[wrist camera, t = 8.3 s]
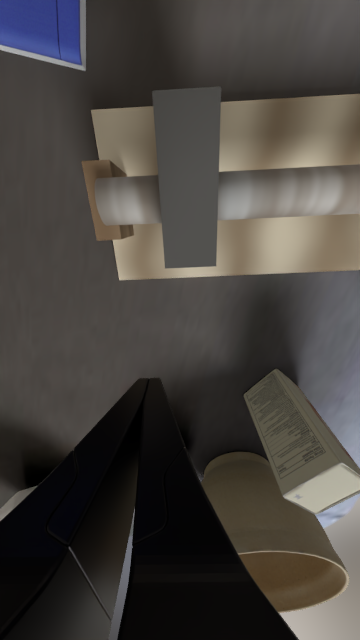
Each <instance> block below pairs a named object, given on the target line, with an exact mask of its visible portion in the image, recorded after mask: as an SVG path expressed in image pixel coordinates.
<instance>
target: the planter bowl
mask: <svg viewBox="0 0 360 640" xmlns="http://www.w3.org/2000/svg"><path fill="white" fill-rule="evenodd" d="M201 484H202V487H203V489H204V491H205V493H206V495H207V497H208V498H209V500H210V502H211V504H212V506H213V508H214V510H215V512H216V514H217V516H218V517H219V519H220V521H221V523H222V525H223V527H224V529H225V531H226V533H227V534H228V536H229V538H230V540H231V542H232V544H233V546H234V548H235V549H236V551H237V553H238V555H239V556H240V558H241V560H242V562H243V563H244V565H245V567H246V568H247V570H248V571H249V573H250V575H251V576H252V578H253V579H254V581H255V582H256V584H257V585H258V586H259V588H260V589H261V590H262V592H263V593H264V594H265V596H266V597H267V598H268V600H269V601H270V602H271V604H272V605H273V606H274V607H275V609H276V610H277V611H278V613H284V612H291V611H297V610H303V609H306V608H309V607H313V606H316V605H319V604H321V603H324V602H327V601H329V600H331V599H333V598H335V597H337V596H338V595H340V594H341V593H342V592H343V591H344V590H345V589H346V588H347V586H348V584H349V575H348V573H347V571H346V569H345V567H344V565H343V563H342V561H341V559H340V558H339V556H338V555H337V554H336V552H335V551H334V549H333V547H332V545H331V543H330V541H329V539H328V537H327V535H326V533H325V531H324V529H323V528H322V526H321V524H320V522H319V521H318V519H317V518H316V516H315V515H314V514H313V513H311V512H309V511H307V510H305V509H303V508H302V507H300V506H298V505H296V504H294V503H293V502H291V501H289V500H287V499H285V498H284V497H283V496H282V493H281V491H280V488H279V485H278V483H277V480H276V478H275V475H274V473H273V470H272V468H271V465H270V463H269V462H268V461H267V460H266V459H265V458H263V457H262V456H260V455H257V454H254V453H250V452H232V453H227V454H224V455H221V456H219V457H217V458H215V459H213V460H212V461H211V462H210V463H209V464H208V465H207V466H206V468H205V471H204V479H203V480H202V482H201Z"/></svg>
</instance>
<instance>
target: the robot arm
mask: <svg viewBox="0 0 360 640" xmlns="http://www.w3.org/2000/svg"><path fill="white" fill-rule="evenodd" d="M134 508H135V515H134V528H133V542H132V546H133V548H132V555H131V566H130V574H129V582H128V588H127V594H126V599H125V604H124V609H123V614H122V619H121V624H120V629H119V634H118V639H117V640H299V639H298V638H297V637H296V635H295V634H294V633H293V631H292V630H291V629H290V627H289V626H288V625H287V623H286V622H285V621H284V619H283V618H282V617H281V615H280V614H279V613H278V611H277V610H276V609H275V607H274V606H273V605H272V604H271V602H270V601H269V600H268V598H267V597H266V596H265V594H264V593H263V592H262V590H261V589H260V588H259V586H258V585H257V584H256V582H255V581H254V579H253V578H252V576H251V575H250V573H249V571H248V570H247V568H246V567H245V565H244V563H243V562H242V560H241V558H240V556H239V555H238V553H237V551H236V549H235V548H234V546H233V544H232V542H231V540H230V538H229V536H228V534H227V533H226V531H225V529H224V527H223V525H222V523H221V521H220V519H219V517H218V516H217V514H216V512H215V510H214V508H213V506H212V504H211V502H210V500H209V498H208V497H207V495H206V493H205V491H204V489H203V487H202V484H201V482H200V480H199V478H198V476H197V474H196V472H195V469H194V467H193V464H192V462H191V459H190V457H189V454H188V451H187V449H186V448H185V444H184V441H183V438H182V436H181V433H180V430H179V428H178V425H177V422H176V420H175V417H174V414H173V411H172V409H171V406H170V403H169V401H168V398H167V395H166V393H165V390H164V387H163V385H162V382H161V379H160V378H150V379H148V378H140V379H138V380H137V381H136V382H135V383H134V384H133V385H132V386H131V387H130V389H129V390H128V391H127V392H126V393H125V394H124V395H123V396H122V397H121V398H120V399H119V400H118V402H117V403H116V404H115V405H114V406H113V407H112V408H111V409H110V410H109V411H108V412H107V413H106V414H105V416H104V417H103V418H102V419H101V420H100V421H99V422H98V423H97V424H96V425H95V426H94V427H93V428H92V430H91V431H90V432H89V433H88V434H87V435H86V436H85V437H84V438H83V439H82V440H81V441H80V443H79V444H78V445H77V446H76V447H75V448H74V451H71V452H70V453H69V454H68V455H67V456H66V458H65V459H64V460H63V461H62V462H61V463H60V464H59V465H58V466H57V467H56V468H55V469H54V470H53V471H52V472H51V473H50V474H49V475H48V476H47V477H46V478H45V479H44V480H43V481H42V482H41V483H40V484H39V485H38V486H37V487H36V488H35V489H34V490H33V491H32V492H31V493H30V494H29V495H28V496H27V497H26V498H25V499H23V500H22V501H21V502H20V503H19V504H18V505H17V506H16V507H15V508H14V509H13V510H12V511H11V512H10V513H8V514H7V515H6V516H5V517H4V518H3V519H2V520H1V521H0V640H108V639H109V634H110V628H111V620H112V618H113V613H114V608H115V603H116V598H117V593H118V588H119V583H120V578H121V573H122V568H123V563H124V558H125V553H126V548H127V543H128V538H129V533H130V528H131V523H132V518H133V513H134Z"/></svg>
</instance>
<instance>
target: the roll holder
mask: <svg viewBox="0 0 360 640" xmlns="http://www.w3.org/2000/svg"><path fill="white" fill-rule="evenodd" d="M91 113H92V119H93V125H94V131H95V137H96V143H97V149H98V155H99V160H93V161H82V166H83V171H84V176H85V182H86V187H87V192H88V197H89V202H90V207H91V212H92V217H93V222H94V227H95V233H96V238H97V241H99V240H113V245H114V251H115V257H116V263H117V269H118V275H119V280H136V279H159V278H183V277H206V276H230V275H254V274H277V273H301V272H324V271H348V270H360V94H347V95H331V96H314V97H297V98H281V99H264V100H248V101H231V102H221V115H220V150H219V186H218V221H217V257H216V266H213V267H190V268H167V269H165V261H164V248H163V234H162V220H161V207H160V193H159V179H158V165H157V152H156V138H155V124H154V111H153V106H148V107H131V108H114V109H98V110H91Z"/></svg>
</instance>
